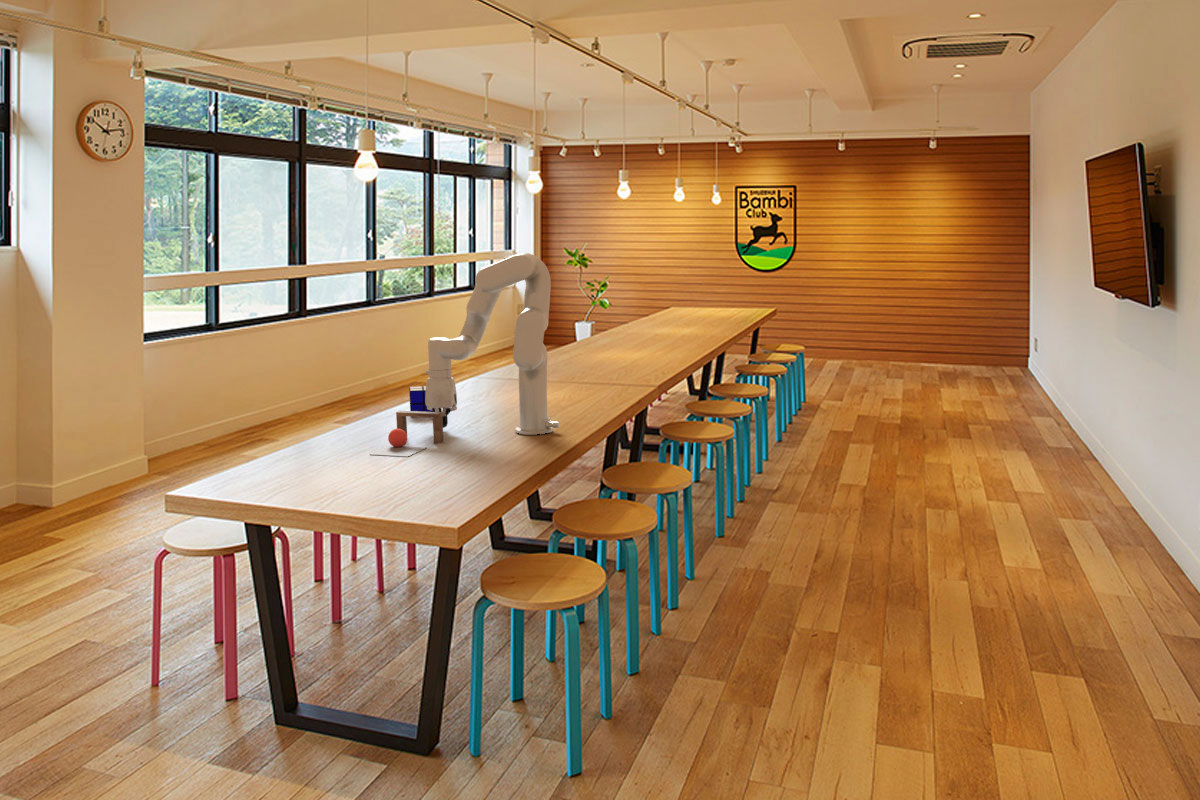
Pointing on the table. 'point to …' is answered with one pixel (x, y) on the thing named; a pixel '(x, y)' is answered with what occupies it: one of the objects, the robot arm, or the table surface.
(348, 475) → the table surface
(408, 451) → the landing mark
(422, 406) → the puzzle cube
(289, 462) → the table surface
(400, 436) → the ball
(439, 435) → the bridge
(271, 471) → the table surface
